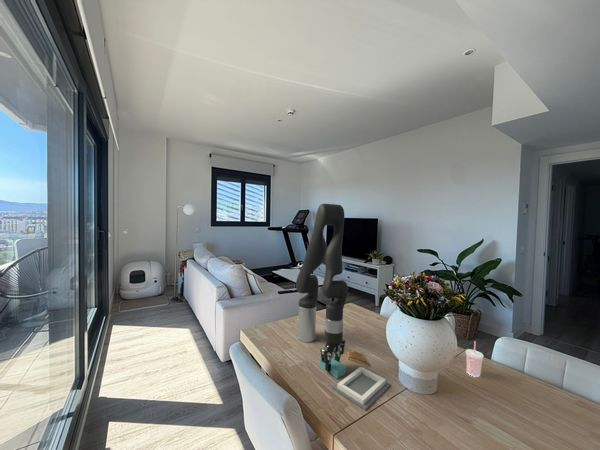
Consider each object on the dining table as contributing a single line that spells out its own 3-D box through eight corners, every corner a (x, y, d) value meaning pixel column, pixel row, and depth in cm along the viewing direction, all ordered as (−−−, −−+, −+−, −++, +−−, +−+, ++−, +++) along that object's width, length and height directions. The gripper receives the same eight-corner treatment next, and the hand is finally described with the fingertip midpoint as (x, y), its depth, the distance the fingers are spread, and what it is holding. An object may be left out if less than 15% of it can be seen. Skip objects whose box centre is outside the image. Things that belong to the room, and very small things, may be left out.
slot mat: (332, 388, 92) (332, 383, 92) (358, 368, 104) (359, 363, 104) (365, 410, 82) (365, 404, 82) (390, 385, 94) (390, 380, 94)
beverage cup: (461, 369, 106) (462, 337, 106) (475, 369, 106) (477, 337, 106) (471, 378, 100) (472, 344, 99) (486, 379, 100) (488, 345, 99)
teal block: (319, 366, 106) (320, 359, 106) (328, 362, 109) (328, 355, 109) (337, 378, 98) (337, 371, 98) (345, 373, 101) (345, 366, 101)
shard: (370, 368, 106) (370, 364, 106) (353, 369, 105) (353, 365, 105) (360, 354, 117) (360, 350, 116) (344, 355, 115) (345, 351, 115)
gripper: (337, 320, 110) (336, 358, 111) (315, 330, 100) (314, 371, 101) (351, 326, 105) (350, 365, 105) (329, 337, 95) (328, 380, 96)
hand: (332, 368), depth 103 cm, fingers closed on teal block, 5 cm apart
